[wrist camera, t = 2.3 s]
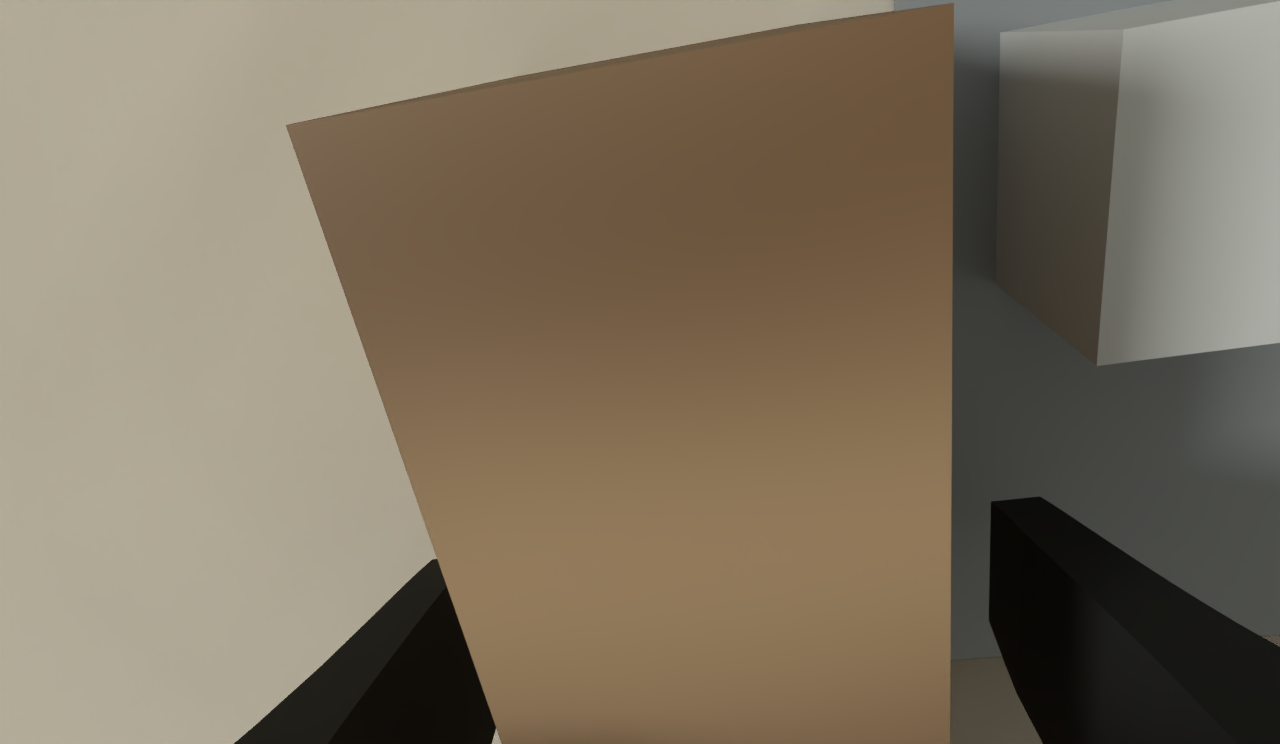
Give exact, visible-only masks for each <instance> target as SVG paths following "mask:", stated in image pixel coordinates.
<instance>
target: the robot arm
mask: <svg viewBox="0 0 1280 744" xmlns="http://www.w3.org/2000/svg"><path fill="white" fill-rule="evenodd" d="M989 623H990V625H991V628H992V631H993V633H994V636H995V639H996V641H997V644H998V647H999V649H1000V652H1001V655H1002V657H1003V660H1004V662H1005V665H1006V667H1007V670H1008V672H1009V675H1010V677H1011V680H1012V682H1013V685H1014V687H1015V690H1016V692H1017V695H1018V697H1019V698H1020V700H1021V702H1022V704H1023V706H1024V708H1025V710H1026V712H1027V714H1028V716H1029V718H1030V720H1031V722H1032V723H1033V725H1034V727H1035V729H1036V731H1037V733H1038V735H1039V737H1040V739H1041V741H1042V742H1043V744H1280V647H1278V646H1277V645H1275V644H1273V643H1272V642H1270V641H1268V640H1266V639H1265V638H1263V637H1261V636H1259V635H1258V634H1256V633H1254V632H1252V631H1251V630H1249V629H1247V628H1245V627H1244V626H1242V625H1240V624H1238V623H1237V622H1235V621H1233V620H1232V619H1230V618H1228V617H1227V616H1225V615H1223V614H1222V613H1220V612H1218V611H1217V610H1215V609H1213V608H1212V607H1210V606H1208V605H1207V604H1205V603H1203V602H1202V601H1200V600H1199V599H1197V598H1195V597H1194V596H1192V595H1191V594H1189V593H1187V592H1186V591H1184V590H1183V589H1181V588H1179V587H1178V586H1176V585H1175V584H1173V583H1171V582H1170V581H1168V580H1167V579H1165V578H1164V577H1162V576H1160V575H1159V574H1157V573H1156V572H1154V571H1153V570H1151V569H1150V568H1148V567H1147V566H1145V565H1143V564H1142V563H1140V562H1139V561H1137V560H1136V559H1134V558H1133V557H1131V556H1130V555H1128V554H1127V553H1125V552H1124V551H1122V550H1121V549H1119V548H1118V547H1116V546H1115V545H1113V544H1112V543H1110V542H1109V541H1107V540H1106V539H1104V538H1103V537H1101V536H1100V535H1098V534H1097V533H1095V532H1094V531H1092V530H1091V529H1089V528H1088V527H1086V526H1085V525H1083V524H1082V523H1080V522H1079V521H1077V520H1076V519H1074V518H1073V517H1071V516H1070V515H1068V514H1067V513H1065V512H1064V511H1062V510H1061V509H1059V508H1058V507H1056V506H1054V505H1053V504H1051V503H1050V502H1048V501H1047V500H1045V499H1043V498H1042V497H1040V496H1039V497H1029V498H1020V499H1010V500H1000V501H991V522H990V575H989ZM495 729H496V726H495V723H494V720H493V717H492V714H491V711H490V708H489V706H488V703H487V700H486V697H485V694H484V691H483V688H482V686H481V683H480V680H479V677H478V674H477V671H476V668H475V666H474V663H473V660H472V657H471V654H470V651H469V648H468V645H467V643H466V640H465V637H464V634H463V631H462V628H461V625H460V623H459V620H458V617H457V614H456V611H455V608H454V605H453V602H452V600H451V597H450V594H449V591H448V588H447V585H446V582H445V580H444V577H443V574H442V571H441V568H440V565H439V562H438V560H437V559H434V560H431V561H430V562H429V563H428V564H427V565H426V566H425V567H423V568H422V569H421V570H420V571H419V572H418V573H417V574H416V575H415V576H414V577H413V578H411V579H410V580H409V581H408V582H407V583H406V584H405V585H404V586H403V587H402V588H401V589H400V590H399V591H398V592H397V593H396V594H395V595H394V596H393V597H392V598H391V599H390V600H389V601H388V602H387V603H386V604H385V605H384V606H383V607H382V608H381V609H380V610H379V611H378V612H377V613H376V614H375V615H374V616H373V617H372V618H370V619H369V620H368V621H367V622H366V623H365V624H364V625H363V626H362V627H361V628H360V629H359V630H358V631H357V632H356V633H355V634H354V635H353V636H352V637H351V638H350V639H349V640H348V641H347V642H346V643H345V644H344V645H343V646H342V647H341V648H340V649H338V650H337V651H336V652H335V653H334V654H333V655H332V656H331V657H330V658H329V659H328V660H327V661H326V662H325V663H324V664H323V665H322V666H321V667H320V668H319V669H318V670H316V671H315V672H314V673H313V674H312V675H311V676H310V677H309V678H308V679H306V680H305V681H304V682H303V683H302V684H301V685H300V686H299V687H298V688H296V689H295V690H294V691H293V692H292V693H291V694H290V695H289V696H288V697H286V698H285V699H284V700H283V701H282V702H281V703H280V704H279V705H278V706H276V707H275V708H274V709H273V710H272V711H271V712H270V713H269V714H268V715H266V716H265V717H264V718H263V719H262V720H261V721H260V722H259V723H258V724H256V725H255V726H254V727H253V728H252V729H251V730H249V731H248V732H247V733H246V734H245V735H244V736H242V737H241V738H240V739H239V740H238V741H236V742H235V743H234V744H491V743H492V740H493V736H494V733H495Z"/></svg>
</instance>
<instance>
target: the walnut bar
mask: <svg viewBox="0 0 1280 744" xmlns="http://www.w3.org/2000/svg"><path fill="white" fill-rule="evenodd" d="M953 95H954V3H948V4H941V5H934V6H927V7H920V8H913V9H906V10H899V11H892V12H885V13H878V14H871V15H863V16H856V17H849V18H842V19H835V20H828V21H821V22H814V23H807V24H800V25H794V26H789V27H783V28H778V29H772V30H767V31H762V32H756V33H751V34H745V35H740V36H735V37H729V38H724V39H718V40H713V41H707V42H702V43H697V44H691V45H686V46H680V47H675V48H670V49H664V50H659V51H653V52H648V53H642V54H637V55H632V56H626V57H621V58H615V59H610V60H605V61H599V62H594V63H588V64H583V65H577V66H572V67H567V68H561V69H556V70H550V71H545V72H539V73H534V74H529V75H523V76H518V77H513V78H508V79H503V80H499V81H494V82H489V83H484V84H480V85H475V86H470V87H465V88H461V89H456V90H451V91H446V92H442V93H437V94H432V95H427V96H423V97H418V98H413V99H408V100H403V101H399V102H394V103H389V104H384V105H380V106H375V107H370V108H365V109H361V110H356V111H351V112H346V113H342V114H337V115H332V116H327V117H323V118H318V119H313V120H308V121H304V122H299V123H294V124H289V125H286V127H287V130H288V133H289V135H290V138H291V141H292V144H293V147H294V150H295V153H296V156H297V158H298V161H299V164H300V167H301V170H302V173H303V176H304V178H305V181H306V184H307V187H308V190H309V193H310V196H311V198H312V201H313V204H314V207H315V210H316V213H317V216H318V219H319V221H320V224H321V227H322V230H323V233H324V236H325V239H326V241H327V244H328V247H329V250H330V253H331V256H332V259H333V262H334V264H335V267H336V270H337V273H338V276H339V279H340V282H341V284H342V287H343V290H344V293H345V296H346V299H347V302H348V305H349V307H350V310H351V313H352V316H353V319H354V322H355V325H356V327H357V330H358V333H359V336H360V339H361V342H362V345H363V347H364V350H365V353H366V356H367V359H368V362H369V365H370V368H371V370H372V373H373V376H374V379H375V382H376V385H377V388H378V390H379V393H380V396H381V399H382V402H383V405H384V408H385V411H386V413H387V416H388V419H389V422H390V425H391V428H392V431H393V433H394V436H395V439H396V442H397V445H398V448H399V451H400V453H401V456H402V459H403V462H404V465H405V468H406V471H407V474H408V476H409V479H410V482H411V485H412V488H413V491H414V494H415V496H416V499H417V502H418V505H419V508H420V511H421V514H422V517H423V519H424V522H425V525H426V528H427V531H428V534H429V537H430V539H431V542H432V545H433V548H434V551H435V554H436V557H437V560H438V562H439V565H440V568H441V571H442V574H443V577H444V580H445V582H446V585H447V588H448V591H449V594H450V597H451V600H452V602H453V605H454V608H455V611H456V614H457V617H458V620H459V623H460V625H461V628H462V631H463V634H464V637H465V640H466V643H467V645H468V648H469V651H470V654H471V657H472V660H473V663H474V666H475V668H476V671H477V674H478V677H479V680H480V683H481V686H482V688H483V691H484V694H485V697H486V700H487V703H488V706H489V708H490V711H491V714H492V717H493V720H494V723H495V726H496V729H497V731H498V734H499V737H500V740H501V743H502V744H950V668H951V477H952V286H953Z"/></svg>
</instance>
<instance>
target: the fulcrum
mask: <svg viewBox="0 0 1280 744" xmlns="http://www.w3.org/2000/svg"><path fill="white" fill-rule="evenodd" d="M948 3H954V95H953V286H952V477H951V660H964V659H977V658H990V657H1002V655H1001V652H1000V649H999V647H998V644H997V641H996V639H995V636H994V633H993V631H992V628H991V625H990V623H989V575H990V522H991V501H1000V500H1010V499H1020V498H1029V497H1039V496H1040V497H1042V498H1043V499H1045V500H1047V501H1048V502H1050V503H1051V504H1053V505H1054V506H1056V507H1058V508H1059V509H1061V510H1062V511H1064V512H1065V513H1067V514H1068V515H1070V516H1071V517H1073V518H1074V519H1076V520H1077V521H1079V522H1080V523H1082V524H1083V525H1085V526H1086V527H1088V528H1089V529H1091V530H1092V531H1094V532H1095V533H1097V534H1098V535H1100V536H1101V537H1103V538H1104V539H1106V540H1107V541H1109V542H1110V543H1112V544H1113V545H1115V546H1116V547H1118V548H1119V549H1121V550H1122V551H1124V552H1125V553H1127V554H1128V555H1130V556H1131V557H1133V558H1134V559H1136V560H1137V561H1139V562H1140V563H1142V564H1143V565H1145V566H1147V567H1148V568H1150V569H1151V570H1153V571H1154V572H1156V573H1157V574H1159V575H1160V576H1162V577H1164V578H1165V579H1167V580H1168V581H1170V582H1171V583H1173V584H1175V585H1176V586H1178V587H1179V588H1181V589H1183V590H1184V591H1186V592H1187V593H1189V594H1191V595H1192V596H1194V597H1195V598H1197V599H1199V600H1200V601H1202V602H1203V603H1205V604H1207V605H1208V606H1210V607H1212V608H1213V609H1215V610H1217V611H1218V612H1220V613H1222V614H1223V615H1225V616H1227V617H1228V618H1230V619H1232V620H1233V621H1235V622H1237V623H1238V624H1240V625H1242V626H1244V627H1245V628H1247V629H1249V630H1251V631H1252V632H1254V633H1256V634H1258V635H1259V636H1272V635H1280V0H894V11H899V10H906V9H913V8H920V7H927V6H934V5H941V4H948Z"/></svg>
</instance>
